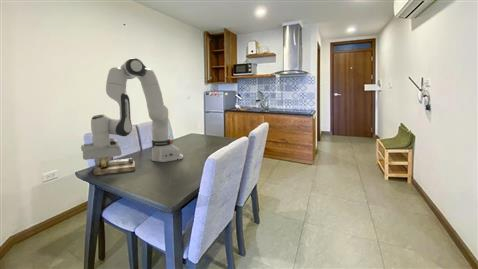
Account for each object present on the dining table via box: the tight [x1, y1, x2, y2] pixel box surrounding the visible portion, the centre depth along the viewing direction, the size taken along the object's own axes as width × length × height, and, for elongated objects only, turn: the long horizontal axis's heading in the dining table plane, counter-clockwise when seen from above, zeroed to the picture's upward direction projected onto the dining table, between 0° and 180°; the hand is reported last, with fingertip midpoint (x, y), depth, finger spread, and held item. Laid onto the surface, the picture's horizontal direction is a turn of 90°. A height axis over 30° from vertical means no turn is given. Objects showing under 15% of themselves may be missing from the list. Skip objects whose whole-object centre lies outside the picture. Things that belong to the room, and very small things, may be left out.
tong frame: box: [109, 157, 134, 163], centre depth 150 cm, size 20×3×3 cm, turn 114°
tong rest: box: [93, 160, 136, 176], centre depth 148 cm, size 22×13×2 cm, turn 114°
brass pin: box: [100, 157, 107, 169], centre depth 143 cm, size 3×3×7 cm
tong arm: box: [98, 159, 129, 167], centre depth 149 cm, size 17×2×2 cm, turn 114°
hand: (103, 164), depth 143 cm, fingers closed on brass pin, 3 cm apart
